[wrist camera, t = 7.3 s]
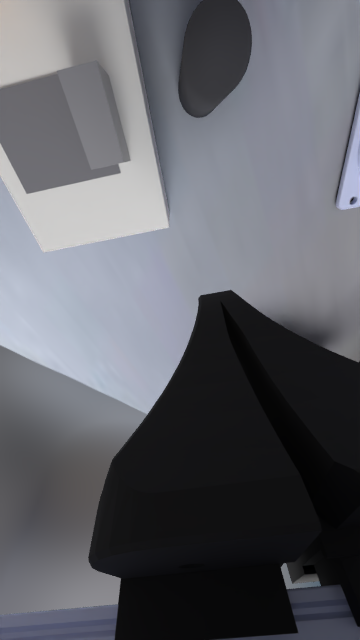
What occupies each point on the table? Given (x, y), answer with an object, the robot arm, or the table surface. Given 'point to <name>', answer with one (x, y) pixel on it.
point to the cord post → (213, 55)
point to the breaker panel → (77, 123)
